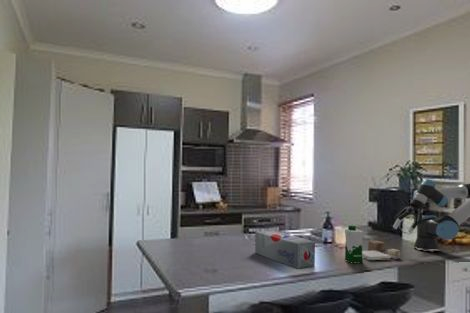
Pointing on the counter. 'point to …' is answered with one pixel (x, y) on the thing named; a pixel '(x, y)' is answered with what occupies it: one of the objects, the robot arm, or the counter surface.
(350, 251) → the soya milk
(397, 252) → the maple block
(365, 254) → the tile
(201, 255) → the counter surface
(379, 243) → the walnut cube
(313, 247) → the soda pack
